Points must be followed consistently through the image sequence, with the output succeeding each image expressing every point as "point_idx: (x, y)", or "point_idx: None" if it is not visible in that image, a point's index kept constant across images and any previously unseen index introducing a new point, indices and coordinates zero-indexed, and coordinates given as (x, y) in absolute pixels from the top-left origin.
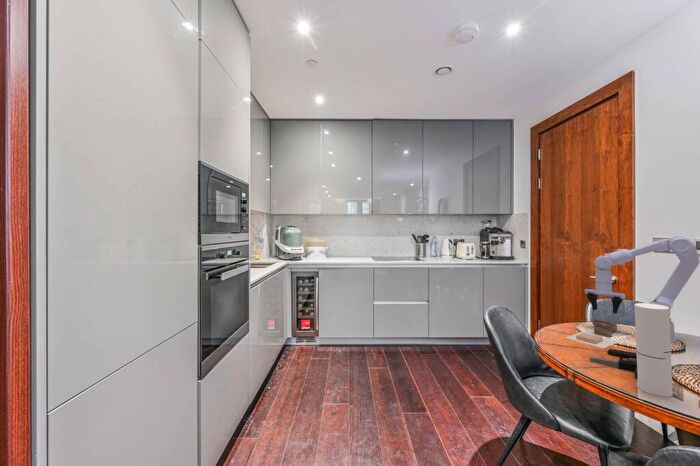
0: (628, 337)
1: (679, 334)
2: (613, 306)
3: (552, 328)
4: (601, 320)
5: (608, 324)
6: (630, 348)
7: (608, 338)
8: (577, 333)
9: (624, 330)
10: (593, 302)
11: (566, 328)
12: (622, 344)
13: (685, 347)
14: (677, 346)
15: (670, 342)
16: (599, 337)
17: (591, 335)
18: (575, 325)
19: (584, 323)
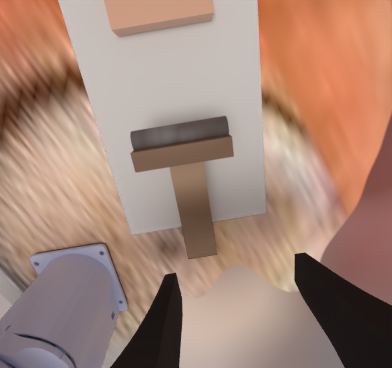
0: (124, 205)
1: (107, 361)
2: (158, 320)
3: (388, 12)
4: (187, 153)
5: (136, 141)
6: (19, 75)
7: (142, 114)
8: (257, 41)
9: (196, 278)
10: (342, 303)
11: (338, 92)
12: (73, 100)
13: (2, 271)
14: (14, 261)
15: (35, 270)
16: (118, 10)
17: (161, 3)
18: (332, 179)
19: (322, 237)
